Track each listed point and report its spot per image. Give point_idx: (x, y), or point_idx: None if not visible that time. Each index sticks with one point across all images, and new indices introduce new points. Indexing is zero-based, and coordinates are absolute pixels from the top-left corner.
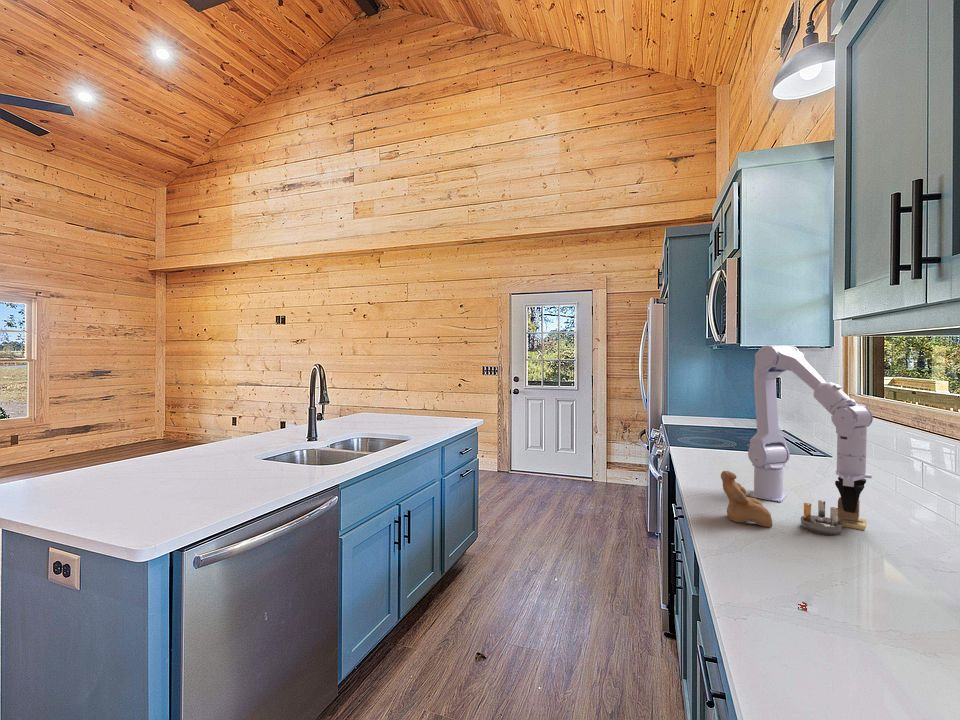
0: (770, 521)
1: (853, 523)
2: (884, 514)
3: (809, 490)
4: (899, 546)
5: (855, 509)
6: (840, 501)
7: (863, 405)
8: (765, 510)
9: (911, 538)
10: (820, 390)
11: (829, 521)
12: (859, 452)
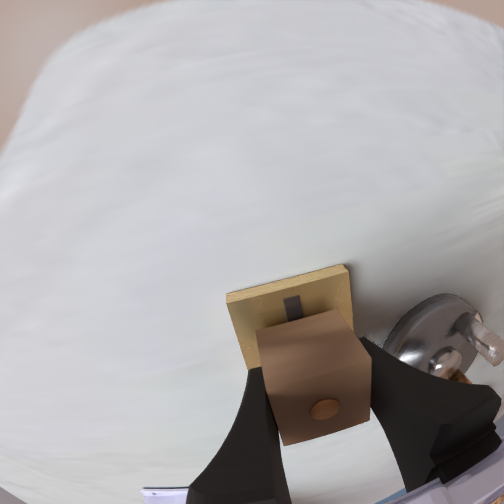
0: None
1: (343, 312)
2: (24, 286)
3: (43, 458)
4: (432, 124)
5: (373, 344)
6: (369, 412)
7: None
8: None
9: (292, 99)
10: None
11: (432, 348)
12: None
